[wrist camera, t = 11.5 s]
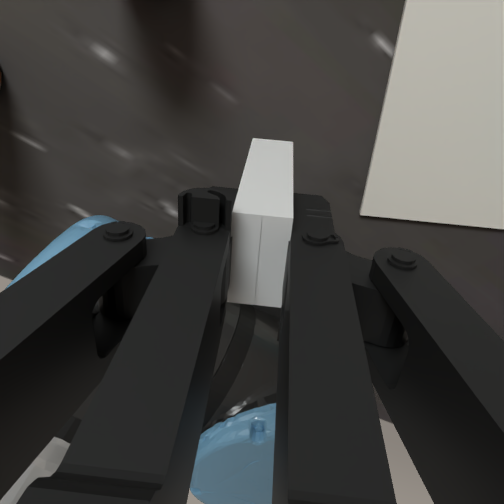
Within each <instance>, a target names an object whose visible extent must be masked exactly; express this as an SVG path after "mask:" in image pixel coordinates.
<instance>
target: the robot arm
mask: <svg viewBox="0 0 504 504" xmlns="http://www.w3.org/2000/svg"><path fill="white" fill-rule="evenodd" d="M372 383H373V385H374V387H375V389H376V391H377V393H378V395H379V397H380V399H381V400H382V402H383V404H384V406H385V408H386V410H387V412H388V414H389V416H390V418H391V420H392V422H393V424H394V426H395V428H396V430H397V432H398V434H399V436H400V438H401V440H402V442H403V444H404V446H405V447H406V449H407V451H408V453H409V455H410V457H411V459H412V461H413V463H414V465H415V467H416V469H417V471H418V473H419V475H420V477H421V479H422V481H423V483H424V485H425V487H426V489H427V491H428V493H429V494H430V496H431V498H432V500H433V502H434V504H504V341H503V340H502V339H501V338H500V337H499V336H498V335H497V334H496V333H495V332H494V331H493V329H492V328H491V327H490V326H489V325H488V324H487V323H486V322H485V321H484V320H483V319H482V318H481V317H480V316H479V315H478V314H477V313H476V311H475V310H474V309H473V308H472V307H471V306H470V305H469V304H468V303H467V302H466V301H465V300H464V299H463V298H462V297H461V296H460V294H459V293H458V292H457V291H456V290H455V289H454V288H453V287H452V286H451V285H450V284H449V283H448V282H447V281H446V280H445V279H444V278H443V276H442V275H441V274H440V273H439V272H438V271H437V270H436V269H435V268H434V267H433V266H432V265H431V264H430V263H429V262H428V261H427V260H426V259H425V258H423V257H422V256H421V255H419V254H416V253H414V252H413V251H411V250H408V249H406V250H405V249H404V248H383V249H380V250H378V251H376V252H375V255H374V257H373V261H372V260H369V259H365V258H361V257H358V256H355V255H353V254H351V253H349V252H347V251H345V248H344V243H343V241H342V239H341V237H340V236H338V235H337V234H335V232H334V226H333V221H332V215H331V210H330V204H329V202H328V201H327V200H325V199H324V198H323V197H322V196H318V195H307V194H297V193H293V142H288V141H278V140H267V139H257V138H253V140H252V143H251V147H250V150H249V154H248V157H247V161H246V164H245V168H244V172H243V175H242V179H241V182H240V186H239V189H234V188H223V187H213V186H212V187H211V188H194V189H189V190H186V191H183V192H181V193H180V194H179V195H178V227H177V230H176V232H175V234H174V236H170V237H165V238H155V239H154V238H152V237H146V232H145V229H144V228H142V227H141V226H140V225H137V224H134V223H129V222H125V221H117V220H115V219H113V218H111V217H108V216H103V215H96V216H91V217H87V218H84V219H82V220H80V221H78V222H77V223H75V224H74V225H72V226H71V227H69V228H68V229H67V230H66V231H64V232H63V233H62V234H61V235H59V236H58V237H57V238H56V239H55V240H53V241H52V242H51V243H50V244H49V245H48V246H47V247H46V248H45V249H44V250H43V251H41V252H40V253H39V254H38V255H37V256H36V257H35V258H34V259H33V260H32V261H31V262H30V263H29V264H28V265H27V266H26V267H25V268H24V269H23V270H22V271H21V272H20V273H19V274H18V275H17V277H16V278H15V279H14V280H13V281H12V282H11V283H10V284H9V285H8V286H7V287H6V289H5V290H4V291H2V292H1V293H0V504H186V503H187V498H188V493H189V488H190V490H191V492H192V494H193V495H194V496H195V497H196V498H197V499H198V500H200V501H201V502H203V503H204V504H397V503H396V499H395V494H394V489H393V484H392V479H391V474H390V469H389V464H388V459H387V454H386V450H385V445H384V440H383V435H382V430H381V425H380V420H379V415H378V410H377V405H376V400H375V395H374V390H373V386H372Z"/></svg>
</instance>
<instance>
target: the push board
mask: <svg viewBox="0 0 504 504" xmlns="http://www.w3.org/2000/svg"><path fill="white" fill-rule="evenodd" d="M360 215H364V216H374V217H384V218H395V219H405V220H415V221H425V222H435V223H445V224H455V225H465V226H475V227H485V228H496V229H504V0H405V4H404V9H403V13H402V18H401V23H400V27H399V32H398V37H397V41H396V46H395V50H394V55H393V60H392V64H391V69H390V74H389V78H388V83H387V88H386V92H385V97H384V101H383V106H382V111H381V115H380V120H379V125H378V129H377V134H376V138H375V143H374V148H373V152H372V157H371V162H370V166H369V171H368V176H367V180H366V185H365V189H364V194H363V199H362V203H361V208H360Z"/></svg>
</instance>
